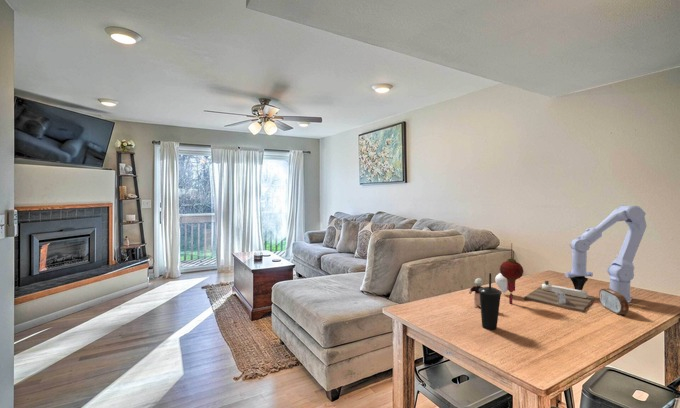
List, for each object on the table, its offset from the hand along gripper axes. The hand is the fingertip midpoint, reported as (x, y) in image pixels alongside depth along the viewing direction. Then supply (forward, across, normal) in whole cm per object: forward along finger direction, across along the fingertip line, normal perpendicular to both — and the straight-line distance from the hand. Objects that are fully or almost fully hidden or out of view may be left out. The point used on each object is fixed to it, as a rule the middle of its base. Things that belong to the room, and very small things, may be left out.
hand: (578, 291), depth 151 cm
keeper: (+1, +19, +7) cm, 20 cm away
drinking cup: (+2, +67, +23) cm, 71 cm away
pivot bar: (+1, +7, -1) cm, 7 cm away
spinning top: (+2, +35, -9) cm, 36 cm away
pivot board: (+2, +14, +2) cm, 14 cm away
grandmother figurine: (+2, +58, +3) cm, 58 cm away
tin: (+2, +5, +19) cm, 20 cm away
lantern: (+2, +41, +3) cm, 41 cm away
